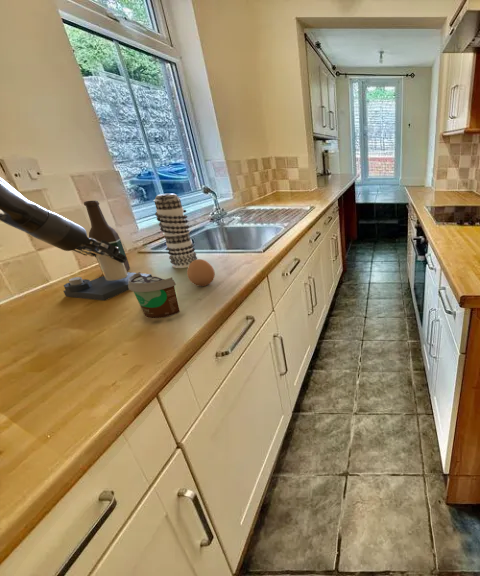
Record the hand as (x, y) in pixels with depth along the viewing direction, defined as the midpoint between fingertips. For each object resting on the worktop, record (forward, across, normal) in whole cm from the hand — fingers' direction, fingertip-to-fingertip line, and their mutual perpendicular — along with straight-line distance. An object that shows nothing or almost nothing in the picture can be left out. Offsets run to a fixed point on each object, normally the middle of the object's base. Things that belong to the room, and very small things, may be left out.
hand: (116, 259), depth 97 cm
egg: (+9, -25, +3) cm, 27 cm away
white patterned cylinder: (+20, -4, -8) cm, 22 cm away
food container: (-4, -26, +17) cm, 31 cm away
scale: (+4, +2, +8) cm, 9 cm away
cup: (+2, 0, +5) cm, 5 cm away
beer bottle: (+13, +14, 0) cm, 19 cm away
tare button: (-2, +7, +10) cm, 12 cm away
